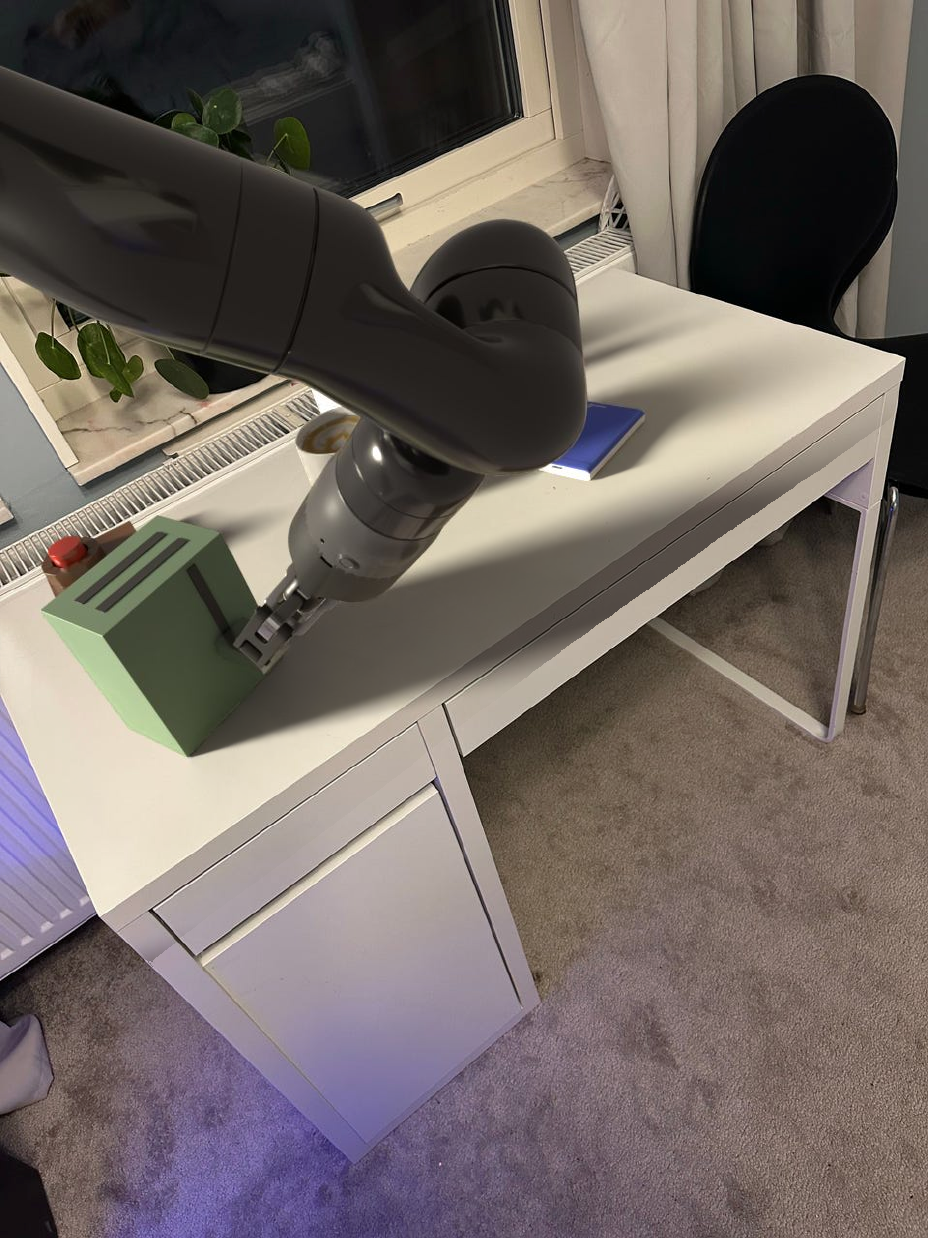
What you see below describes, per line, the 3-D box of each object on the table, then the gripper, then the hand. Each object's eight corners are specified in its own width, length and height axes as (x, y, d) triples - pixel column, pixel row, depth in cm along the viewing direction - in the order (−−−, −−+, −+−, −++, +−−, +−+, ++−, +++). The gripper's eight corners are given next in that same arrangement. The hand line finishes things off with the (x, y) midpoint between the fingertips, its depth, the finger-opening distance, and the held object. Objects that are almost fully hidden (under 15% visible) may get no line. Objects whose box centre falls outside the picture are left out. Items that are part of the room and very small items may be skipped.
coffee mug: (361, 542, 91) (332, 464, 84) (307, 516, 97) (276, 441, 90) (447, 477, 97) (426, 399, 90) (390, 456, 103) (367, 382, 96)
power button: (59, 572, 92) (51, 560, 91) (53, 558, 95) (44, 546, 94) (90, 557, 93) (82, 544, 92) (83, 543, 96) (75, 531, 95)
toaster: (189, 758, 73) (103, 636, 63) (128, 728, 77) (38, 609, 67) (286, 656, 80) (222, 532, 70) (224, 634, 84) (156, 514, 74)
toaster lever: (264, 674, 70) (255, 658, 69) (223, 659, 73) (214, 643, 72) (290, 646, 72) (282, 630, 71) (250, 632, 75) (242, 616, 74)
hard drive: (581, 399, 100) (525, 456, 93) (644, 409, 95) (589, 469, 89) (583, 411, 101) (527, 468, 95) (645, 421, 96) (590, 482, 90)
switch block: (67, 616, 92) (47, 589, 90) (51, 579, 99) (32, 552, 96) (159, 567, 96) (143, 540, 93) (138, 534, 102) (122, 508, 99)
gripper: (391, 410, 53) (317, 522, 67) (240, 547, 46) (190, 642, 59) (477, 493, 54) (387, 586, 68) (343, 641, 46) (271, 713, 60)
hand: (295, 612), depth 63 cm, fingers open, 8 cm apart
